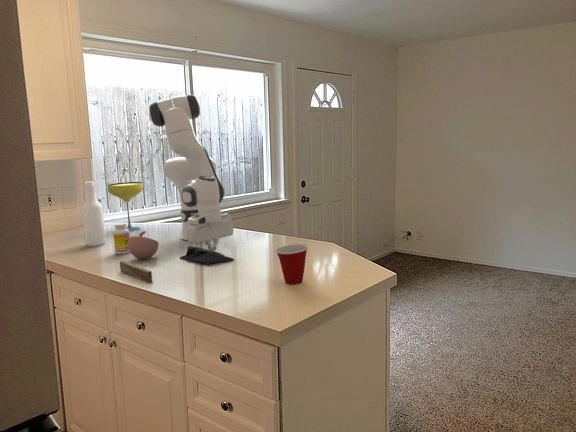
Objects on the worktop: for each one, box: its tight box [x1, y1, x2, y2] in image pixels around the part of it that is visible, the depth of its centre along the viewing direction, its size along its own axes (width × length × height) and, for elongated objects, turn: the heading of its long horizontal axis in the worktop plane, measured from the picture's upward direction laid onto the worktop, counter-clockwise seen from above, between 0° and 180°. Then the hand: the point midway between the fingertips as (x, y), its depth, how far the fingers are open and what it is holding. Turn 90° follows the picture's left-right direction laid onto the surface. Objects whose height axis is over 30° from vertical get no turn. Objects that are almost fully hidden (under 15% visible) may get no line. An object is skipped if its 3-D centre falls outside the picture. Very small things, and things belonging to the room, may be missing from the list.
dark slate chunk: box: [179, 245, 235, 266], centre depth 197 cm, size 15×22×5 cm
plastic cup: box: [275, 243, 309, 286], centre depth 162 cm, size 11×11×12 cm
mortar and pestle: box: [128, 230, 160, 260], centre depth 203 cm, size 12×12×11 cm
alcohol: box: [81, 180, 107, 247], centre depth 232 cm, size 9×9×30 cm
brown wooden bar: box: [119, 260, 153, 284], centre depth 177 cm, size 2×22×4 cm, turn 43°
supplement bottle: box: [112, 222, 131, 255], centre depth 215 cm, size 7×7×13 cm
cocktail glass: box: [107, 181, 144, 232], centre depth 266 cm, size 18×18×25 cm
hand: (212, 250), depth 199 cm, fingers closed
